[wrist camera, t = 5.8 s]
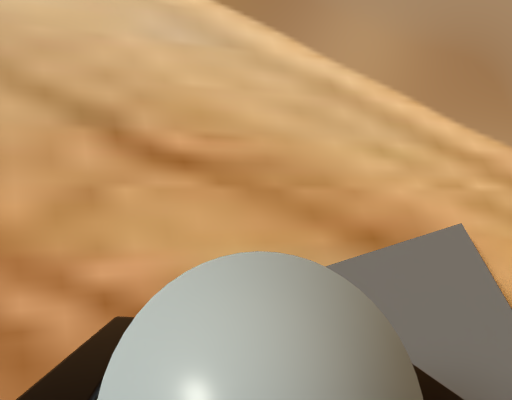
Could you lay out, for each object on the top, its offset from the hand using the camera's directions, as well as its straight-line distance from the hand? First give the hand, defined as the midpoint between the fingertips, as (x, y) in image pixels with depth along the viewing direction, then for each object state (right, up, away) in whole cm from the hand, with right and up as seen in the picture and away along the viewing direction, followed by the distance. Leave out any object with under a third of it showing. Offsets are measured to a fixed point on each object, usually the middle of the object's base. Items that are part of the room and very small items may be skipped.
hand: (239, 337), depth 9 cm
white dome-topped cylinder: (-1, -4, +5) cm, 7 cm away
